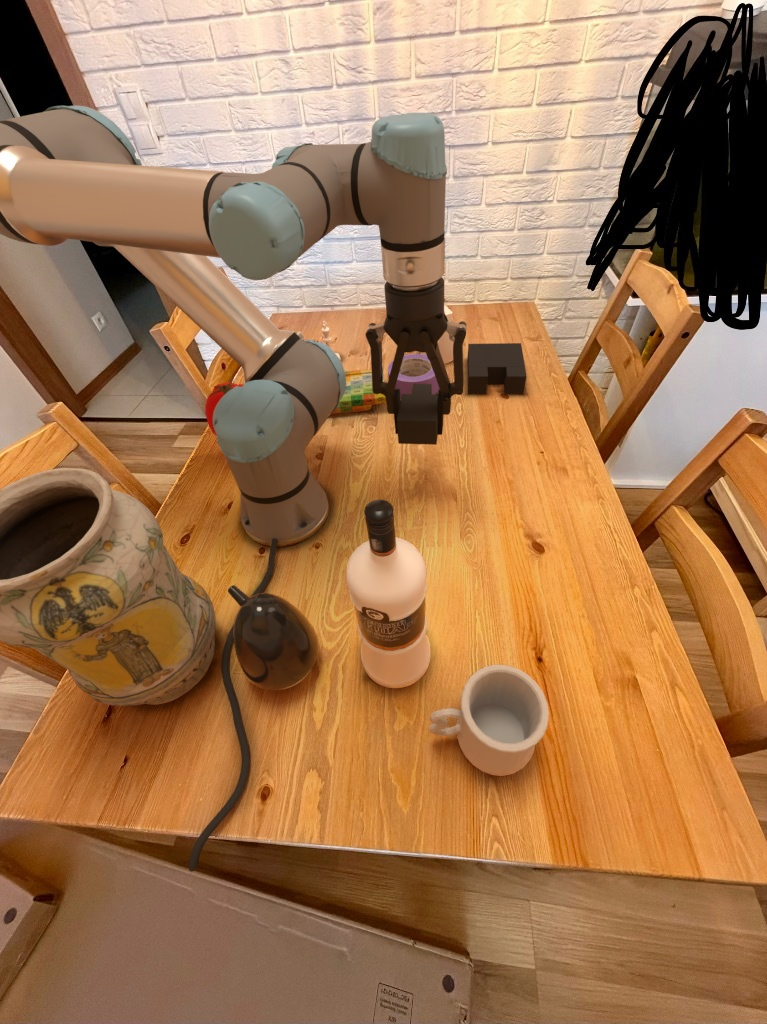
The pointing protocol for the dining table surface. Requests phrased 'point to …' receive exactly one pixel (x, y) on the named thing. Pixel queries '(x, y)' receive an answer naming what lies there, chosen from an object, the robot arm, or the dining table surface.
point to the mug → (497, 719)
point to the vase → (99, 590)
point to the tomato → (217, 400)
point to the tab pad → (418, 416)
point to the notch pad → (496, 367)
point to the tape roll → (414, 373)
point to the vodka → (389, 601)
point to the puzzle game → (359, 393)
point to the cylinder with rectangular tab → (445, 340)
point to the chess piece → (327, 336)
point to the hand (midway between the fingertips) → (419, 428)
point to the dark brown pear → (272, 640)
